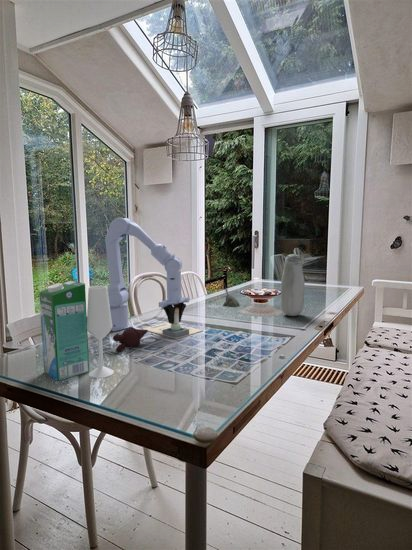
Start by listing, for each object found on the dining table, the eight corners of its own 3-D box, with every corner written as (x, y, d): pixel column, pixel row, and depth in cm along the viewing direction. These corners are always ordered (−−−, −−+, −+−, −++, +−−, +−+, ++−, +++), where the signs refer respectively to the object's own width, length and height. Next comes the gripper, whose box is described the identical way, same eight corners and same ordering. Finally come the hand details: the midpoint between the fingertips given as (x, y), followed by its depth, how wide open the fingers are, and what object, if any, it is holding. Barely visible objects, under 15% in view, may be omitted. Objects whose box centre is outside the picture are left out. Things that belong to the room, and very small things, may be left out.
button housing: (175, 337, 136) (175, 333, 136) (162, 334, 141) (162, 329, 141) (189, 333, 141) (189, 329, 141) (176, 330, 146) (176, 326, 146)
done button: (175, 333, 139) (175, 326, 138) (169, 331, 141) (168, 325, 141) (182, 331, 141) (182, 324, 141) (176, 330, 144) (176, 323, 143)
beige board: (176, 338, 136) (176, 337, 136) (141, 329, 149) (141, 328, 149) (202, 331, 146) (202, 330, 146) (168, 322, 160) (168, 322, 160)
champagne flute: (118, 372, 104) (115, 286, 101) (97, 379, 99) (93, 289, 96) (105, 366, 109) (101, 284, 106) (84, 373, 104) (79, 287, 101)
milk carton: (43, 372, 105) (38, 283, 102) (74, 363, 111) (70, 280, 108) (57, 381, 99) (52, 286, 96) (89, 371, 105) (85, 282, 102)
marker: (174, 328, 148) (174, 309, 147) (169, 327, 150) (168, 308, 149) (180, 326, 150) (180, 308, 149) (175, 325, 152) (175, 307, 151)
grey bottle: (304, 318, 166) (306, 254, 162) (281, 317, 167) (282, 254, 164) (302, 313, 175) (304, 253, 172) (280, 312, 177) (281, 253, 174)
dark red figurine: (137, 322, 135) (104, 335, 123) (151, 319, 131) (119, 333, 119) (142, 340, 136) (110, 355, 124) (157, 338, 131) (125, 354, 119)
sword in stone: (243, 305, 197) (243, 282, 195) (237, 308, 190) (236, 285, 189) (226, 303, 202) (225, 281, 200) (219, 306, 195) (218, 283, 194)
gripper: (166, 292, 140) (167, 327, 142) (194, 287, 151) (194, 320, 152) (154, 290, 145) (155, 324, 147) (182, 285, 156) (182, 318, 157)
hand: (174, 322), depth 150 cm, fingers closed on marker, 3 cm apart
